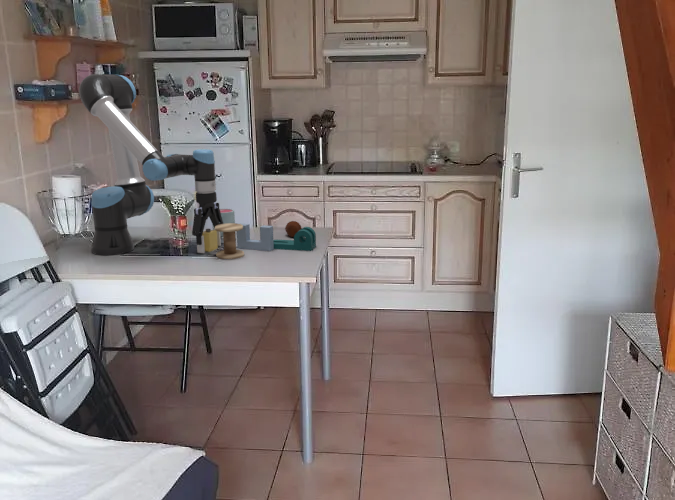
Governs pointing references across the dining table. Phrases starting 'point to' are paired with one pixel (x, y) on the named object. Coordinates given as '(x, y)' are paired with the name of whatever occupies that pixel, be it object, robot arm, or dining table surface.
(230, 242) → the bobbin
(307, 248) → the bracket
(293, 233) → the potato
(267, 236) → the notch board
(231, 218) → the mug
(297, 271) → the dining table surface
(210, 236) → the yellow block
